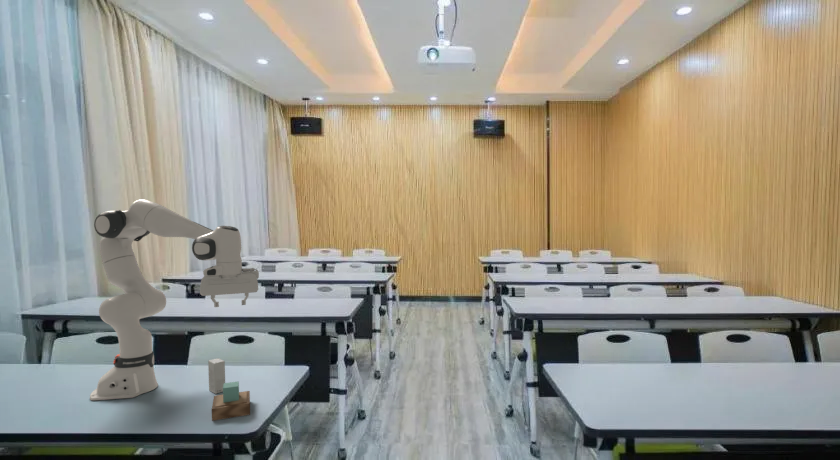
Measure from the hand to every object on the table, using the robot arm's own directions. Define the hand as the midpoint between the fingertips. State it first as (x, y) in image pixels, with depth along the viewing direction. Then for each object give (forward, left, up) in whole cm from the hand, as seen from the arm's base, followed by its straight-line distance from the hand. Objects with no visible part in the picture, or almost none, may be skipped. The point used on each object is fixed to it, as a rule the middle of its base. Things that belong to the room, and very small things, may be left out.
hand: (230, 305), depth 171 cm
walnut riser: (0, -12, -35) cm, 37 cm away
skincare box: (-6, +10, -35) cm, 37 cm away
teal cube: (0, -12, -31) cm, 33 cm away
